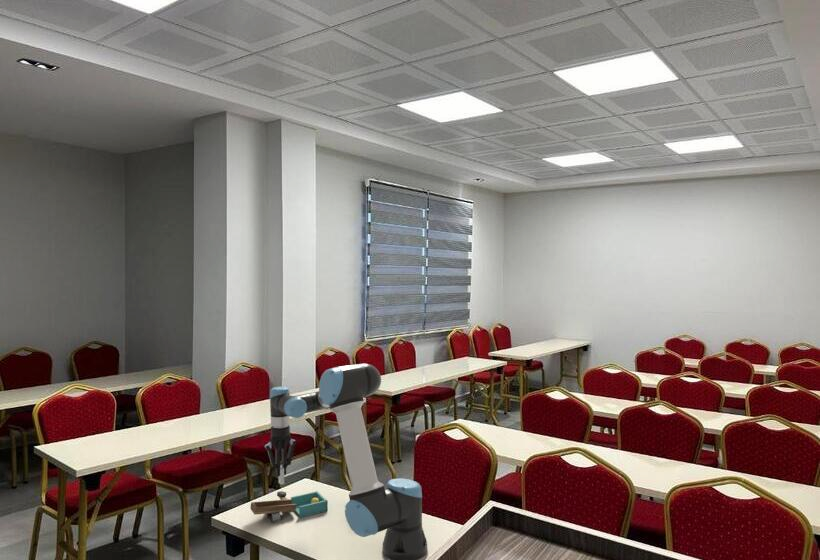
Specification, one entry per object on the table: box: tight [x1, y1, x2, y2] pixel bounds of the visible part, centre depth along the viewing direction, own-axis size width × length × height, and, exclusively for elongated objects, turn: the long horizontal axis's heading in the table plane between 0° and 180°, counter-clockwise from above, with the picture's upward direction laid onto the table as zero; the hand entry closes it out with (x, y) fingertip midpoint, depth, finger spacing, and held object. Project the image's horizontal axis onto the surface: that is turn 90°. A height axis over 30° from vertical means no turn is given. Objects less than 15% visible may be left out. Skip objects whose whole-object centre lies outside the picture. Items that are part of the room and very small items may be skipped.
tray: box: [290, 490, 329, 518], centre depth 220 cm, size 11×11×4 cm
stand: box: [264, 512, 283, 524], centre depth 213 cm, size 10×4×3 cm, turn 31°
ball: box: [311, 498, 319, 504], centre depth 221 cm, size 3×3×3 cm
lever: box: [249, 491, 297, 516], centre depth 218 cm, size 17×17×4 cm
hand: (281, 483), depth 226 cm, fingers closed
